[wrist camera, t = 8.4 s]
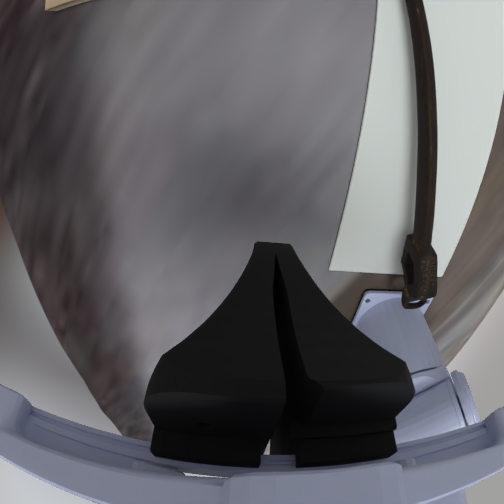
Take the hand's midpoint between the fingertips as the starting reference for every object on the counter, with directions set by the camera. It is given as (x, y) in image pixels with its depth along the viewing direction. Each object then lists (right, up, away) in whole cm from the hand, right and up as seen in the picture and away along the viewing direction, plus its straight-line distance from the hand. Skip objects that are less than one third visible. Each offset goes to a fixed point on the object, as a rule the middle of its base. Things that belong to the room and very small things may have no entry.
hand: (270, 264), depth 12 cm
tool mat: (+13, +10, +5) cm, 17 cm away
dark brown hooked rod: (+12, +10, +6) cm, 17 cm away
